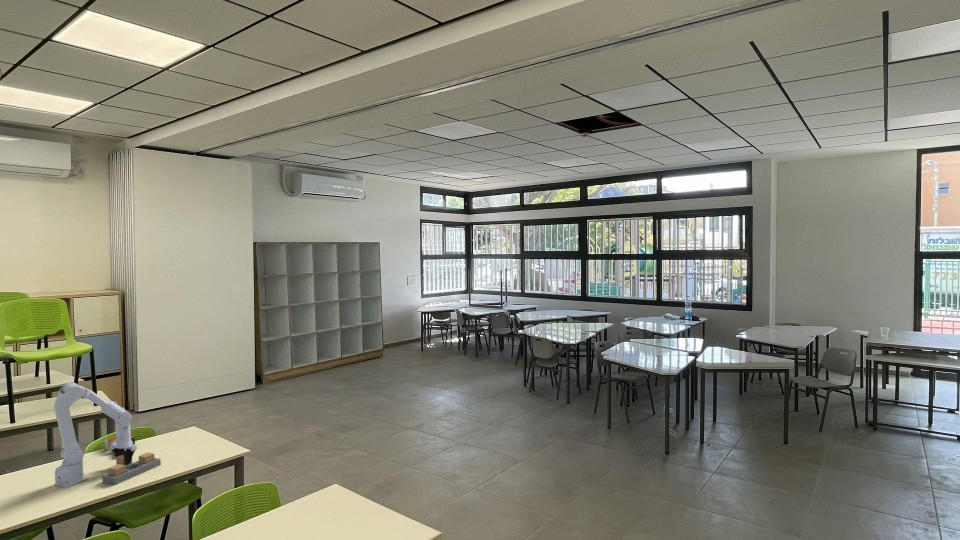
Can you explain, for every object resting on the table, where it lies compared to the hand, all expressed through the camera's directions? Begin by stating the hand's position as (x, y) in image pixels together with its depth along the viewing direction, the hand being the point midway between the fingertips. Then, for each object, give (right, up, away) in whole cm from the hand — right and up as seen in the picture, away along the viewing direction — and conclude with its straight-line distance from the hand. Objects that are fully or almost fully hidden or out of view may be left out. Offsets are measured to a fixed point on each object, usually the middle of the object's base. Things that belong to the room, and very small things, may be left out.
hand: (124, 463), depth 247 cm
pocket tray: (+9, -2, -7) cm, 12 cm away
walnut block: (0, -1, 0) cm, 1 cm away
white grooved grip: (-16, -1, +19) cm, 25 cm away
